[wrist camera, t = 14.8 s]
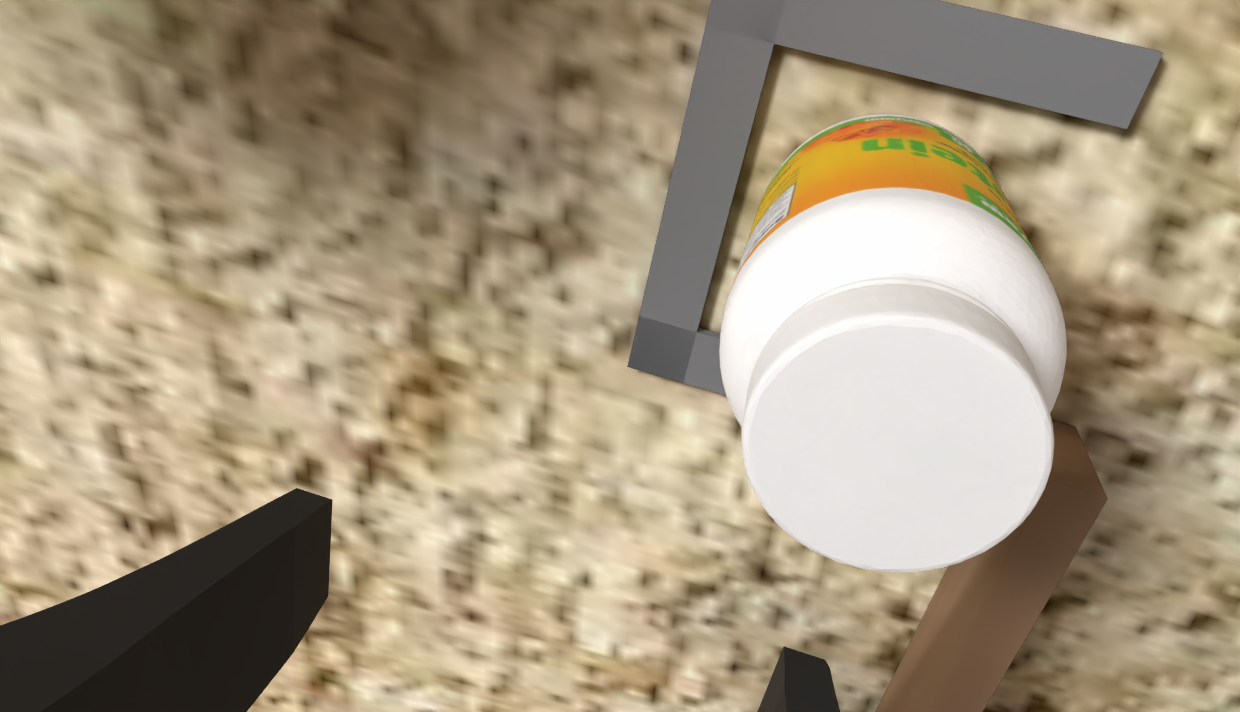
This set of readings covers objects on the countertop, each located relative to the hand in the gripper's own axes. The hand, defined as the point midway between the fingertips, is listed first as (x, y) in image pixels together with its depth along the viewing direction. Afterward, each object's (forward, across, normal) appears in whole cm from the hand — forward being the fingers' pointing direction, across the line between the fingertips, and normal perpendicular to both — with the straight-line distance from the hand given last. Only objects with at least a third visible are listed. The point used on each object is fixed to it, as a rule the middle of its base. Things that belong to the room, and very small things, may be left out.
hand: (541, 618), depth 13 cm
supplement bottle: (+11, -4, -4) cm, 12 cm away
